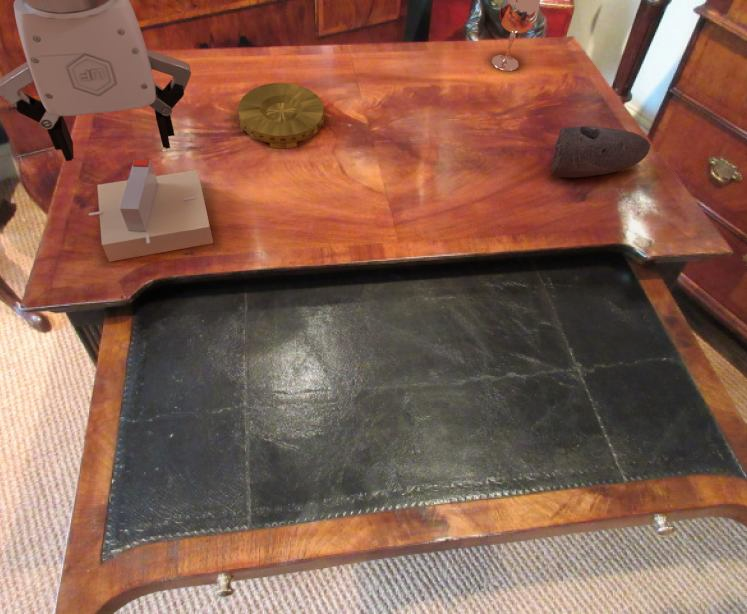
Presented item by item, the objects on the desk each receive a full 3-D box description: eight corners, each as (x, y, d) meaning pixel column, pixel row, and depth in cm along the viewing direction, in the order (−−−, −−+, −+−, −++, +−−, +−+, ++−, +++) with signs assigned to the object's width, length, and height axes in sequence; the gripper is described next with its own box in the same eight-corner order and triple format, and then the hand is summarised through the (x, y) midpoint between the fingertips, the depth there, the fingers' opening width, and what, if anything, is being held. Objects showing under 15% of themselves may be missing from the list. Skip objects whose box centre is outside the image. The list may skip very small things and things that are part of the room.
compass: (340, 118, 88) (340, 106, 87) (286, 160, 82) (285, 147, 81) (278, 85, 92) (277, 72, 90) (222, 123, 86) (220, 110, 84)
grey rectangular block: (145, 231, 69) (137, 207, 66) (128, 230, 69) (118, 207, 66) (158, 183, 74) (150, 158, 71) (141, 182, 74) (133, 158, 71)
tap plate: (99, 270, 69) (91, 253, 67) (94, 197, 76) (86, 178, 73) (214, 250, 72) (210, 232, 70) (200, 181, 79) (196, 162, 76)
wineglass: (513, 51, 102) (533, -22, 92) (528, 70, 99) (550, -2, 89) (482, 55, 101) (499, -18, 91) (496, 75, 97) (516, 1, 88)
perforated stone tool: (632, 156, 88) (653, 116, 82) (646, 181, 85) (669, 141, 79) (534, 160, 86) (549, 119, 80) (546, 186, 83) (562, 145, 77)
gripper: (-56, 10, 46) (29, 181, 60) (178, -5, 50) (207, 158, 64) (-47, -36, 50) (30, 134, 64) (168, -47, 54) (197, 115, 68)
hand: (118, 146), depth 64 cm, fingers open, 9 cm apart
